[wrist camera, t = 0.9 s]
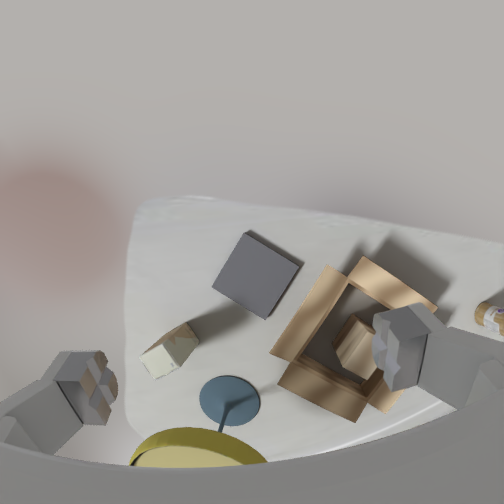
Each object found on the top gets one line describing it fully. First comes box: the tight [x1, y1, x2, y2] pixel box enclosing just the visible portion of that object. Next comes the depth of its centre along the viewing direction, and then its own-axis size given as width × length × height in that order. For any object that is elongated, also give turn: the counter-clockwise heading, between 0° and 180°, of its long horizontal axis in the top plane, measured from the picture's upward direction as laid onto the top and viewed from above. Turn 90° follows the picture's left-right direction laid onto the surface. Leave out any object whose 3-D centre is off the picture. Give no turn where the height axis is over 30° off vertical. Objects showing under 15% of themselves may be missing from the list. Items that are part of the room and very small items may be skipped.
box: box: [139, 322, 199, 380], centre depth 47 cm, size 5×4×11 cm
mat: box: [212, 233, 299, 320], centre depth 50 cm, size 10×10×1 cm
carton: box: [269, 255, 438, 423], centre depth 47 cm, size 23×23×6 cm
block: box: [332, 314, 377, 380], centre depth 45 cm, size 4×6×10 cm
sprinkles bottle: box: [475, 302, 504, 336], centre depth 41 cm, size 5×5×14 cm
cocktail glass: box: [129, 376, 267, 468], centre depth 40 cm, size 18×18×25 cm
